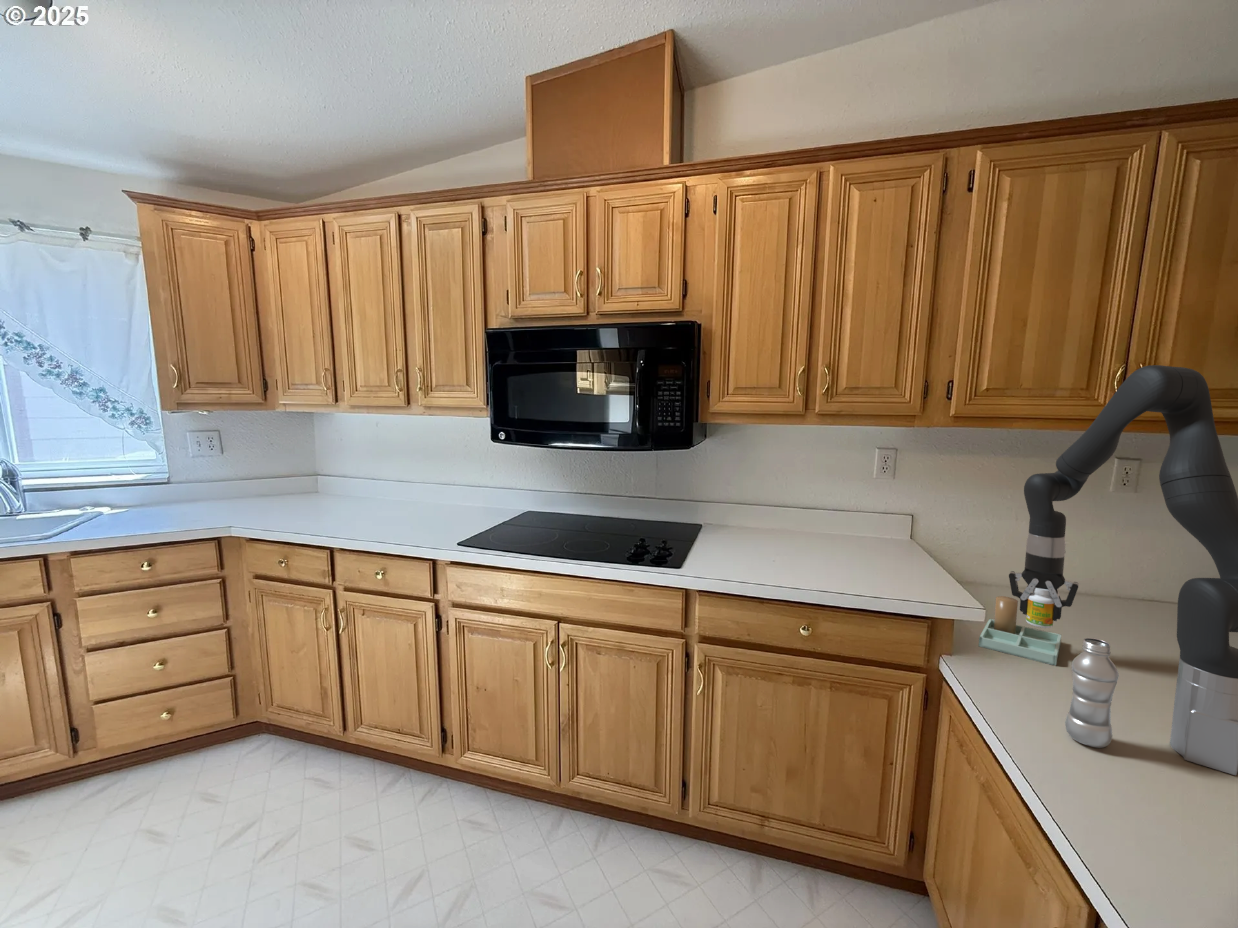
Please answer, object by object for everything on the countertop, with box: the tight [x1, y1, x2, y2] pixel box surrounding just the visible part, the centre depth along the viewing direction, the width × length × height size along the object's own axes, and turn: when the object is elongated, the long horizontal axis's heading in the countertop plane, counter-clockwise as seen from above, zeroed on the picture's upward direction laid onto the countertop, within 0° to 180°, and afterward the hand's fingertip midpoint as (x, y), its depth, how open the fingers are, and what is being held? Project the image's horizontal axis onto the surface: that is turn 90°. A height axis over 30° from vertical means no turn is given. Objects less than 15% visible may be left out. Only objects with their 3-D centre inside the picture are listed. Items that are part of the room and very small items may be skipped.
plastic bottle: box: [1064, 637, 1120, 749], centre depth 98 cm, size 6×7×20 cm
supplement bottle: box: [1025, 587, 1055, 629], centre depth 132 cm, size 5×5×10 cm
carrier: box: [978, 618, 1062, 667], centre depth 139 cm, size 16×16×2 cm
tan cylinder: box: [994, 595, 1019, 634], centre depth 143 cm, size 5×5×10 cm
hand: (1039, 616), depth 132 cm, fingers closed on supplement bottle, 5 cm apart
